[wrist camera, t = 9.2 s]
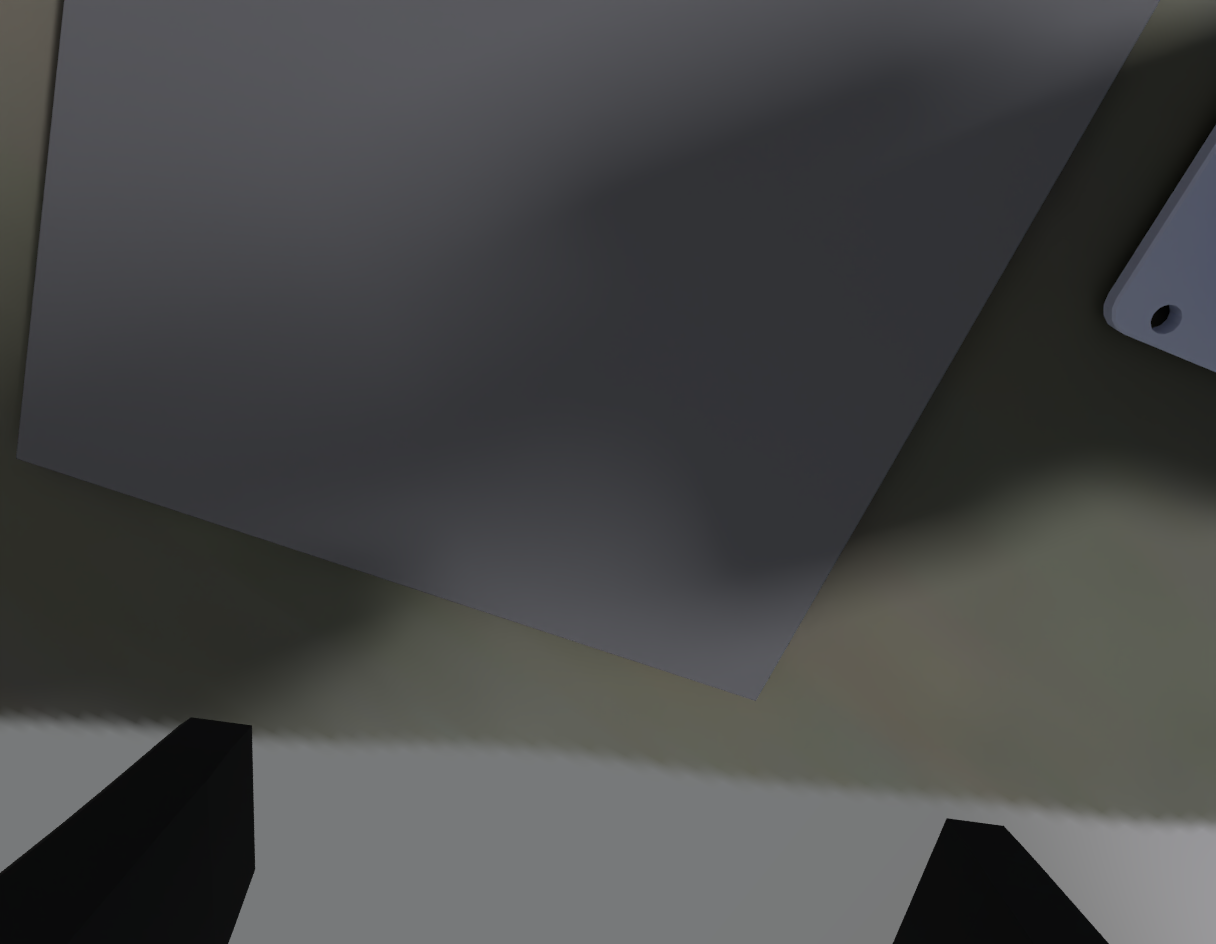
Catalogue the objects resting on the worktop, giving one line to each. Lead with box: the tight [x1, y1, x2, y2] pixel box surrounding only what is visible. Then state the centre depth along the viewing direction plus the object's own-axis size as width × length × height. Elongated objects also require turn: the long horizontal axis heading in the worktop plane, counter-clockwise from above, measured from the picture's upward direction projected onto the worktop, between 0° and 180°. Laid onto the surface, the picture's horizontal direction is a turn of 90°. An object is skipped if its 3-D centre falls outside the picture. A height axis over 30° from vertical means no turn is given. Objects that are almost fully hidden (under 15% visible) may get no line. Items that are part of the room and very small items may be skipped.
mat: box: [16, 0, 1160, 701], centre depth 16 cm, size 16×16×1 cm
